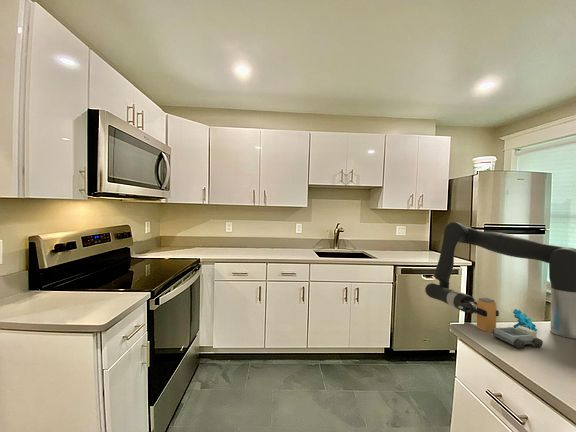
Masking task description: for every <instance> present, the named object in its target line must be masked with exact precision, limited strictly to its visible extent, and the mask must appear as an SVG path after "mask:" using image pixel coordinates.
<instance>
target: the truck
mask: <svg viewBox="0 0 576 432" xmlns="http://www.w3.org/2000/svg"><path fill="white" fill-rule="evenodd" d="M491 332H492V336H493V337H495V338H496V339H500V340H501V341H504V342H506V343H508V344H510V345H512V346H514V347H515V348H517V349H519V350H522V349H524V348H525V345H533V346H534V347H535V348H538V349H540V348H542V347H543V345H544V342H543V340H542V339H541V338H539V337H538V336H537V335H538V334H537V332H538V331H533V330H531V329H528V328H526V327H523V326H518V327H516V328H514V327H512V326H509V327H508V326H507V327H496V328H494V330H493V331H491Z"/></svg>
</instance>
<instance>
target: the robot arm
mask: <svg viewBox="0 0 576 432" xmlns="http://www.w3.org/2000/svg"><path fill="white" fill-rule="evenodd" d="M458 243H460V244H467V245H472V246H477V247H480V248H482V249H485V250H488V251H491V252H494V253H497V254H499V255H504V256H507V257H508V256H509V257H513V258H519V259H527V260H535V261H540V262H543V263H547V264H548V272H549V273H548V276H549V277H548V278H549V282H550V332H551V333H552V334H554V335H557V336H560V337H563V338H568V339H576V247H575V248H574V247H571V246H570V247H569V246H562V245H561V246H560V245H553V244H547V243H542V242H538V241H536V240H532V239H529V238H528V239H527V238H524V237H522V236H518V235H513V234H509V233H503V232H499V231H498V232H496V231H482V230H477V229H475V228H471V227H468V226H466V225H464V224H462V223H460V222H457V221H451V222H449V223H447V224H446V226H445V227H444V232H443V238H442V244H441V248H440V249H441V250H440V254H439V258H438V262H437V264H436V268H435V271H434V273H433V278H435V279H436V280H438V281H439V283H438V284H436V283H433V282H432V283H428V284H427V285H426V286H425V289H424V290H425V294H426V296H428V297H429V298H432V299H434V300H437V301H440V302H443V303H445V304H447V305H449V306H451V307H453V308H454V309H456V310H459V311H461V312H463V313H466V314H467V313H468V314H471V315H473V314H475V315H477V314H480V315H482V316H484V317H487V311H485V310H482V309H480V308H478V307H477V300H476V299H475V298H474V297H473V296H471V295H469V294H466V293H464V292H461V291H459V290H458V291H456V290H454V289H451V288H450V278H451V275H452V273H453V269H454V265H455V264H454V263H455V250H456V247H457V244H458ZM499 316H500V313H499V310H497V309H496V317H499Z"/></svg>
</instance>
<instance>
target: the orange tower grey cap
mask: <svg viewBox="0 0 576 432" xmlns="http://www.w3.org/2000/svg"><path fill="white" fill-rule="evenodd" d="M476 301H477V307H478V308H480V309H482V310H485V311H487V317H484V316H482V315H480V314H476V328H478V329H479V330H482V331H483V332H484V333H485V332H486V333H487V332H488V333H489V332H493V330H494V328H497V316H496V310H497V302H496V301H495V300H494V299H491V298H488V297H478V299H476Z"/></svg>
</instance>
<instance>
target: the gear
mask: <svg viewBox="0 0 576 432" xmlns="http://www.w3.org/2000/svg"><path fill="white" fill-rule="evenodd" d="M512 313H513V316H514V318H516V319H517V323H516V324H514V325H512V326H513V327H514V328H516V329H517V327H526V328H528V329H531V330H533V331H536V332H538V328H536V327H537V326H536V323H535V324H534V323H533V318H531V317H528V315H527V314H526V313H523V312H522V310H520V309H517V308H515V309H513V311H512Z"/></svg>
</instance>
